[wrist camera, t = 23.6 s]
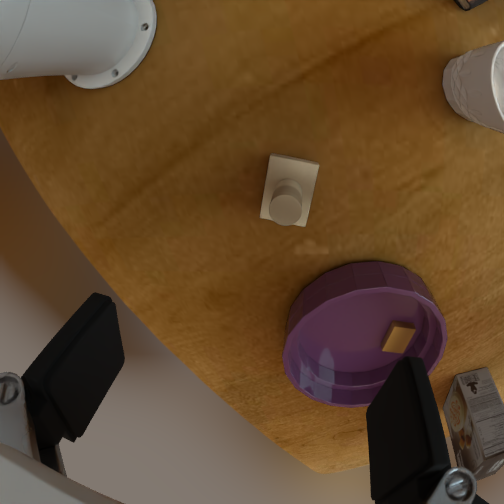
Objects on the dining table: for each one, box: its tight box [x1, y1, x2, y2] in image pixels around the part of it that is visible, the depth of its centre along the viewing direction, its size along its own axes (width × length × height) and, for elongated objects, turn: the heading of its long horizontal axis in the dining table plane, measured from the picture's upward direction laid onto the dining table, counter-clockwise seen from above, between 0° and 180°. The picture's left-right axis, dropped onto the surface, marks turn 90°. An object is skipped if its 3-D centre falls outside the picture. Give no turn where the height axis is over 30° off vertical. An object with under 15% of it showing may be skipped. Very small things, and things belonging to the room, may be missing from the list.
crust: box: [381, 320, 416, 353], centre depth 34 cm, size 3×4×1 cm
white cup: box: [442, 41, 504, 134], centre depth 17 cm, size 8×8×10 cm
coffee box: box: [443, 367, 504, 481], centre depth 31 cm, size 9×6×16 cm
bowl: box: [282, 261, 447, 408], centre depth 33 cm, size 18×18×6 cm
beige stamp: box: [260, 153, 319, 227], centre depth 26 cm, size 6×4×8 cm
